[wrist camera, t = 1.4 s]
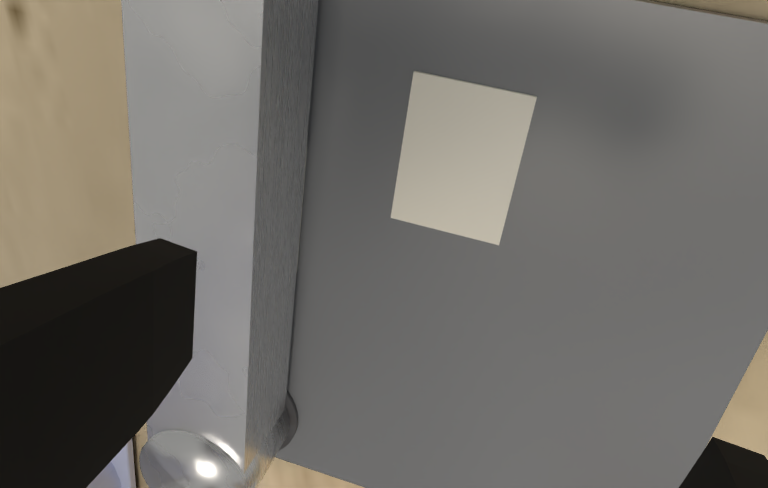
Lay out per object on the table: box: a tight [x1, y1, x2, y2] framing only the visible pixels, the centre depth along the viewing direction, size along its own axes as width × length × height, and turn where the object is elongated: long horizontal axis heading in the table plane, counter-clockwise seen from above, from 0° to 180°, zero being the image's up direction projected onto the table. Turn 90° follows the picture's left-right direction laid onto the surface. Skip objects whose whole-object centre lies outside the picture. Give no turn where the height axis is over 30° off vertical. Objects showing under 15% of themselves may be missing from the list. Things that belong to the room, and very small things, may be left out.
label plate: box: [275, 0, 768, 488], centre depth 18 cm, size 16×17×1 cm
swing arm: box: [121, 0, 319, 488], centre depth 18 cm, size 17×4×3 cm, turn 173°
